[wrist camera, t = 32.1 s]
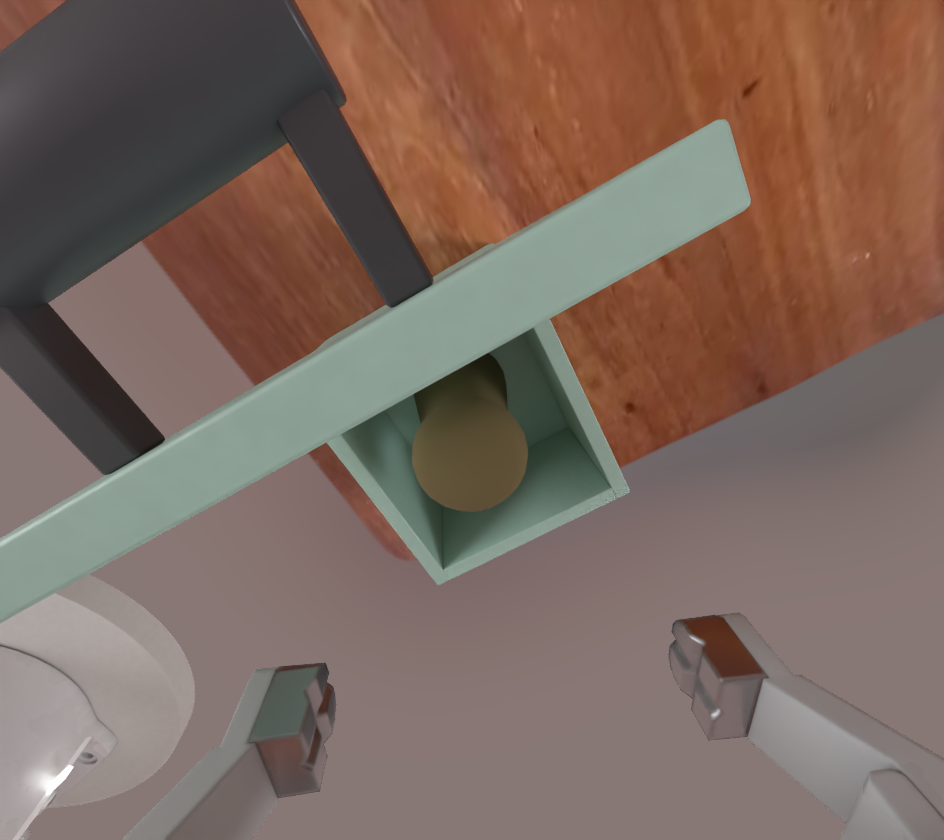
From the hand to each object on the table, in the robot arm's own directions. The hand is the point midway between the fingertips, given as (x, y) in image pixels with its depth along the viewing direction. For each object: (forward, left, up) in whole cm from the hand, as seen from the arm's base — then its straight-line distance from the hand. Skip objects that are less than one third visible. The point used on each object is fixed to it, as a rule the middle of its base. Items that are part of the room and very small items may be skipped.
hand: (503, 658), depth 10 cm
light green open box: (0, 0, -20) cm, 20 cm away
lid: (+3, +6, -4) cm, 8 cm away
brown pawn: (0, 0, -20) cm, 20 cm away
